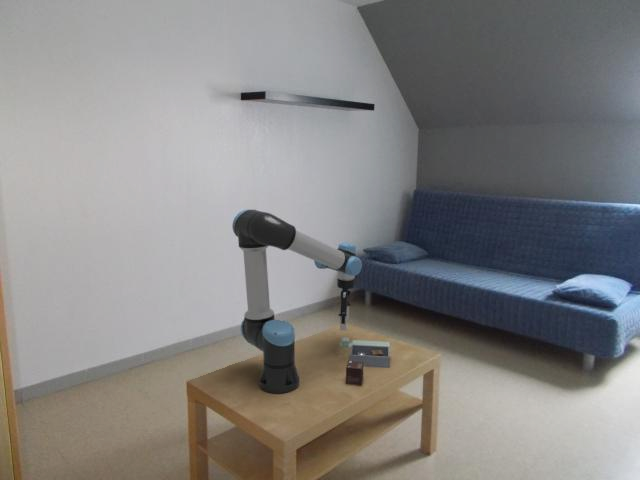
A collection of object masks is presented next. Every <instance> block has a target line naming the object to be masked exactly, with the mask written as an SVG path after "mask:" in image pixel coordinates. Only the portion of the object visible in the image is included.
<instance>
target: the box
mask: <svg viewBox="0 0 640 480" xmlns="http://www.w3.org/2000/svg"><path fill="white" fill-rule="evenodd" d="M363 382H364V366H363V362H355V361H350V360H349V361H347V364H346V367H345V385H352V386H360V387H362V386H363Z"/></svg>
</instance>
